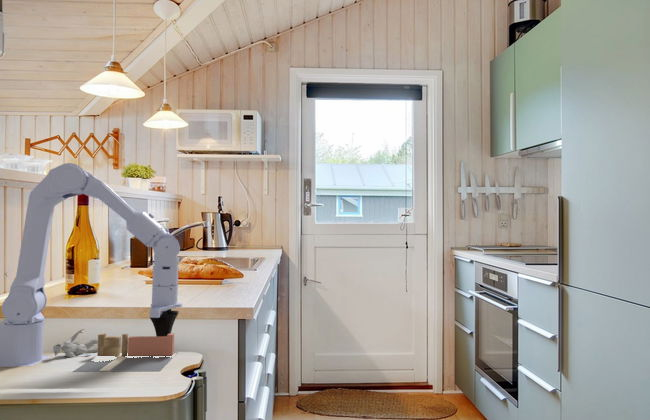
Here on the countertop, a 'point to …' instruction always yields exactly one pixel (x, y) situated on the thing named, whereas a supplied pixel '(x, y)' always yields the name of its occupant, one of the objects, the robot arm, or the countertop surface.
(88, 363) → the board
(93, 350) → the soldier figure
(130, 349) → the fence panel
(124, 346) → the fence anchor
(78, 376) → the countertop surface
